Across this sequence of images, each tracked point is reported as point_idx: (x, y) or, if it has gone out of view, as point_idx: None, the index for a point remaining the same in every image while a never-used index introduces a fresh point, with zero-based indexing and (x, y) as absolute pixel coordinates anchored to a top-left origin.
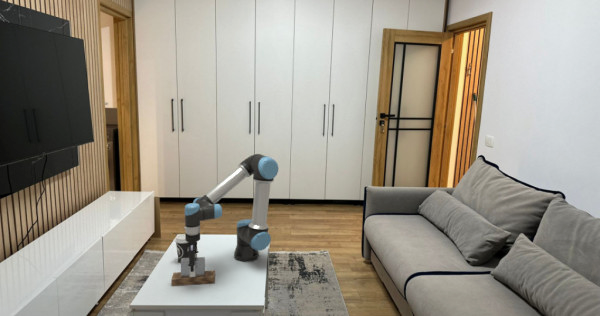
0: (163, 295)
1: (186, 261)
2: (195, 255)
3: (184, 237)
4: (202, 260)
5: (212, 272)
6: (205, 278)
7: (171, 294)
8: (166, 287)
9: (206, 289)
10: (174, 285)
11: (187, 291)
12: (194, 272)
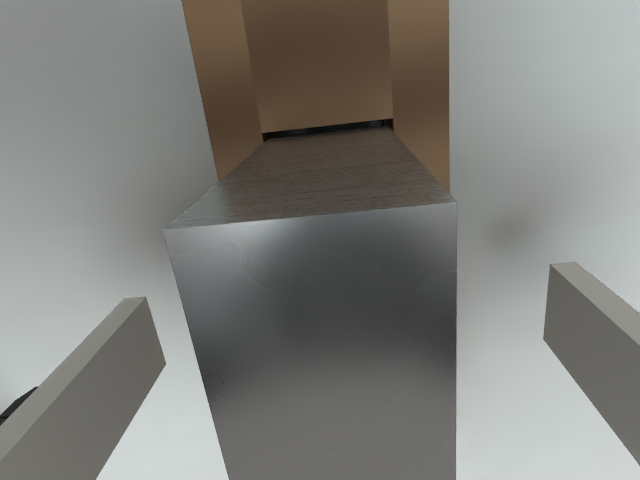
0: (606, 453)
1: None
2: (39, 465)
3: None
4: (453, 259)
5: (257, 3)
6: (446, 97)
7: None
8: (458, 456)
9: (584, 52)
10: None
11: None
12: (623, 312)
